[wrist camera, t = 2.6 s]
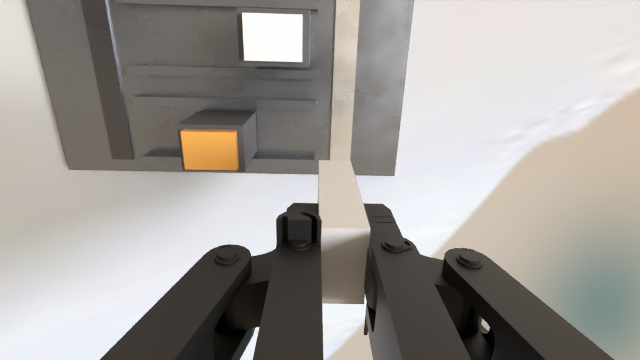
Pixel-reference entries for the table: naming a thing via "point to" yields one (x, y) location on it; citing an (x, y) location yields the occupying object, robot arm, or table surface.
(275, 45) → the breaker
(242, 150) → the block
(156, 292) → the table surface
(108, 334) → the table surface
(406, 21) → the panel
